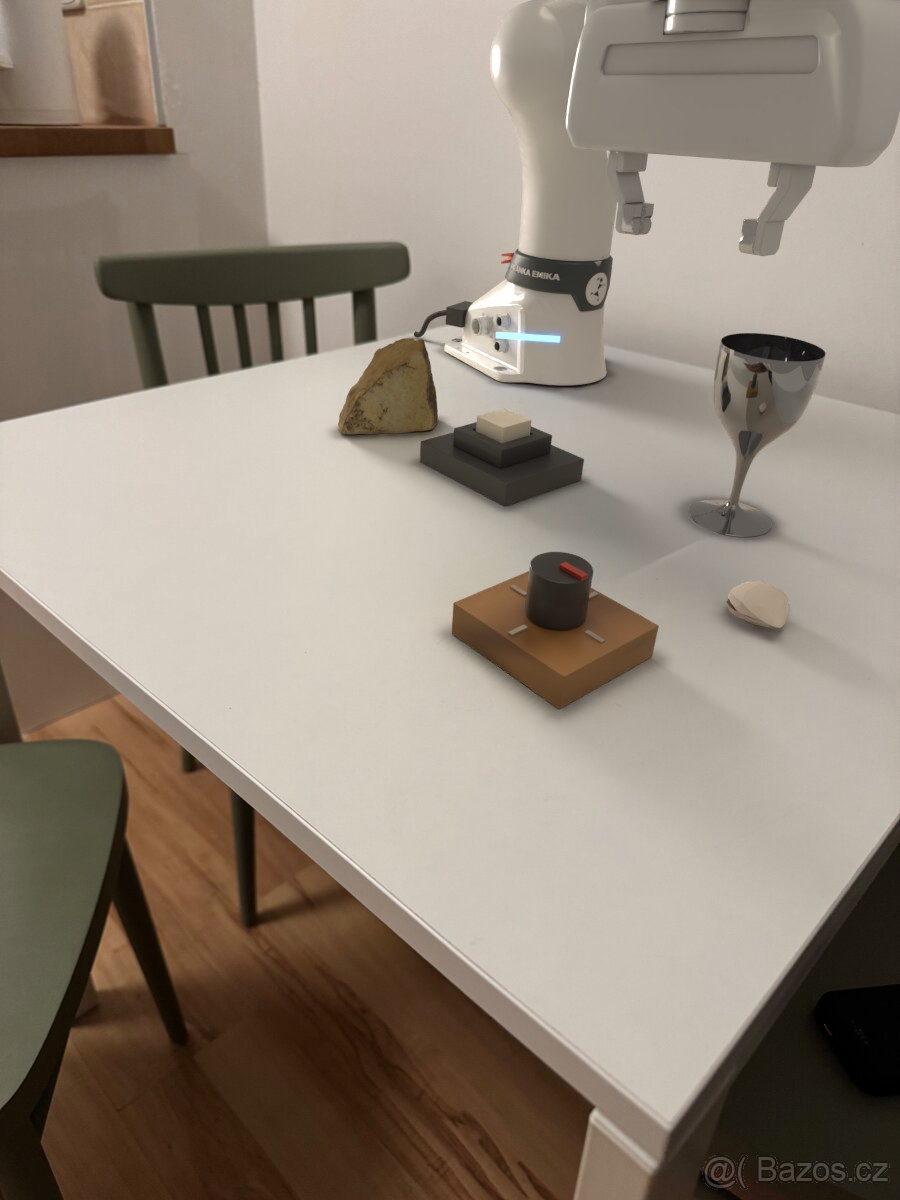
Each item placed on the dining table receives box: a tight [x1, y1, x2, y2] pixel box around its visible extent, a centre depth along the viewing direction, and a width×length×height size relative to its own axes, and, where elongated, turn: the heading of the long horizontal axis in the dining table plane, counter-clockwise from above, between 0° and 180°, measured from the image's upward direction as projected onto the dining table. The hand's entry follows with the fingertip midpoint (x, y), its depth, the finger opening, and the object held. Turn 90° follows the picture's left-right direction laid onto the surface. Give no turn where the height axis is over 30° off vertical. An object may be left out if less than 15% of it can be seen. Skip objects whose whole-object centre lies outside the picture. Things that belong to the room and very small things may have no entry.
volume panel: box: [451, 570, 659, 710], centre depth 55 cm, size 10×9×3 cm
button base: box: [419, 421, 585, 507], centre depth 79 cm, size 12×10×4 cm
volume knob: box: [525, 551, 594, 630], centre depth 54 cm, size 4×4×4 cm
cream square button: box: [476, 408, 532, 444], centre depth 78 cm, size 4×4×2 cm
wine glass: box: [688, 332, 826, 538], centre depth 70 cm, size 8×8×15 cm
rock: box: [337, 337, 439, 435], centre depth 87 cm, size 11×9×10 cm
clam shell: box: [726, 580, 791, 629], centre depth 59 cm, size 4×5×2 cm
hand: (691, 243), depth 51 cm, fingers open, 8 cm apart
